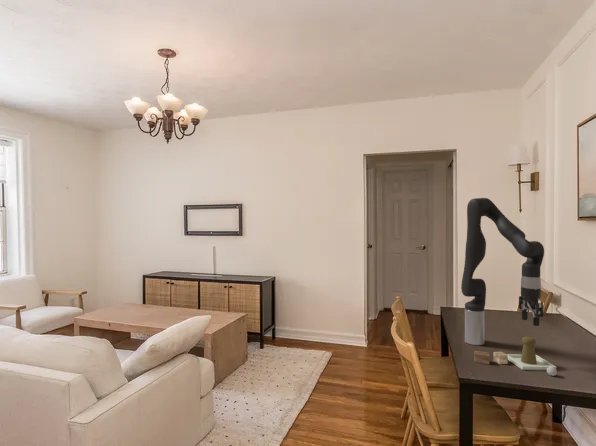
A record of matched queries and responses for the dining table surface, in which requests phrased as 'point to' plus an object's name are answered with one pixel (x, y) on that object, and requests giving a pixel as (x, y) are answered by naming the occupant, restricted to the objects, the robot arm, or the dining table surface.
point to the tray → (540, 364)
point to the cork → (528, 351)
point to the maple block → (500, 358)
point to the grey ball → (551, 371)
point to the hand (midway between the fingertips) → (530, 322)
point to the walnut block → (481, 357)
